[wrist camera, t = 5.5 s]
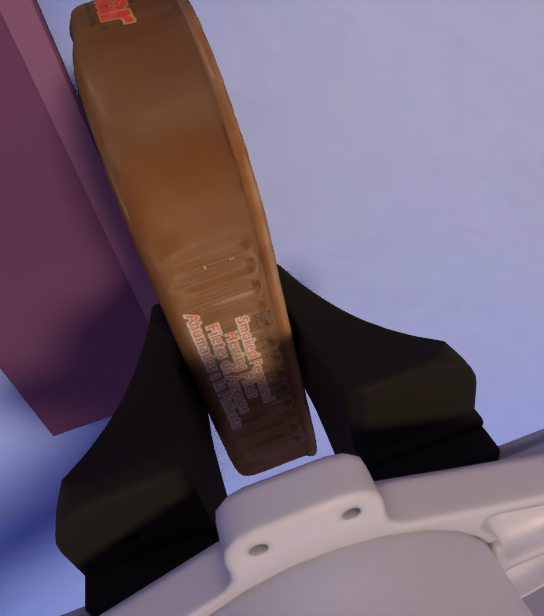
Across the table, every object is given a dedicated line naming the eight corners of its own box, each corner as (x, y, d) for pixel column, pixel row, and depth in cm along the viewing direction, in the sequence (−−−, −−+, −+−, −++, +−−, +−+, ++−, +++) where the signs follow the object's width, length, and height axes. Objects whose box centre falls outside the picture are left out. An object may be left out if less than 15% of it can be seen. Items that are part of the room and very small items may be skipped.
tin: (260, 340, 24) (347, 495, 18) (195, 367, 23) (261, 536, 17) (148, -47, 14) (259, -2, 8) (31, -14, 13) (49, 61, 7)
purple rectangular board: (53, 430, 27) (53, 438, 27) (-277, 3, 15) (-288, 5, 14) (199, 379, 28) (201, 385, 28) (6, -71, 15) (4, -71, 15)
